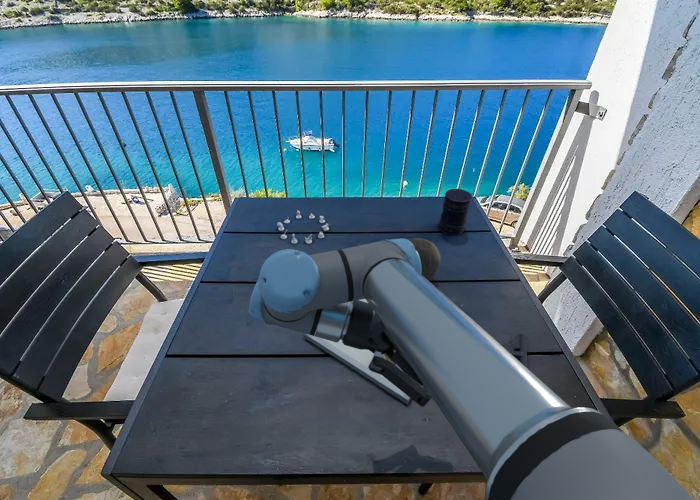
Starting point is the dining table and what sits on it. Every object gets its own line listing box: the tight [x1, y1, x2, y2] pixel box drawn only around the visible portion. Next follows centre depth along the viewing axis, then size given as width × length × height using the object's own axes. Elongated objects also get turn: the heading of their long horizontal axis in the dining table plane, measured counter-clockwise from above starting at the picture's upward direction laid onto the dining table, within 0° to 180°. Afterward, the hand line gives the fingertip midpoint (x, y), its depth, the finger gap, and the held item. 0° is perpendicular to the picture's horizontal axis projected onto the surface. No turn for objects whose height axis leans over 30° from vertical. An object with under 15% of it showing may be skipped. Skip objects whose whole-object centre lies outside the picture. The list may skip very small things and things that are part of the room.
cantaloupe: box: [407, 237, 442, 282], centre depth 110 cm, size 14×14×15 cm
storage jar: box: [438, 188, 473, 236], centre depth 133 cm, size 10×10×15 cm
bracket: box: [500, 333, 528, 369], centre depth 92 cm, size 14×15×3 cm
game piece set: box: [276, 210, 330, 245], centre depth 136 cm, size 19×20×4 cm
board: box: [304, 299, 412, 405], centre depth 98 cm, size 30×32×2 cm
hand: (469, 356), depth 58 cm, fingers open, 13 cm apart
